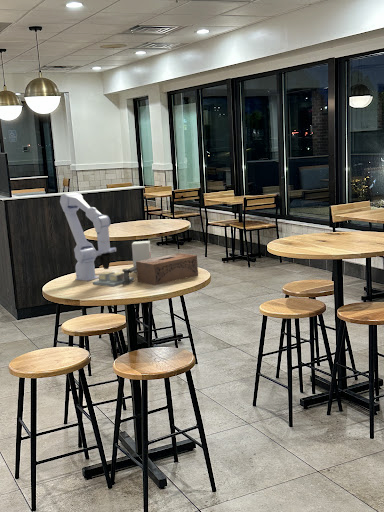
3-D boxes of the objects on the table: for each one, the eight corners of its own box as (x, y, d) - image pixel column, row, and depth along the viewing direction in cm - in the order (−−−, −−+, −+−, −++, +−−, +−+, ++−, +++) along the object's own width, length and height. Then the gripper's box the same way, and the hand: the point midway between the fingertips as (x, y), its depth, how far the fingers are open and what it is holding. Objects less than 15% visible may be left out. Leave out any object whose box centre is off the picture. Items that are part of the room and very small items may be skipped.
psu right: (109, 281, 304) (108, 274, 304) (118, 278, 309) (117, 272, 309) (117, 281, 301) (116, 275, 301) (125, 279, 306) (125, 272, 306)
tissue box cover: (180, 272, 321) (178, 253, 320) (198, 275, 310) (196, 255, 308) (137, 282, 305) (135, 261, 304) (155, 285, 294) (153, 264, 293)
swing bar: (137, 266, 317) (137, 263, 316) (144, 266, 315) (144, 263, 315) (121, 274, 300) (120, 270, 300) (128, 274, 299) (127, 270, 299)
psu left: (98, 280, 309) (98, 273, 308) (107, 277, 313) (107, 271, 313) (106, 281, 306) (105, 274, 305) (115, 278, 311) (114, 271, 310)
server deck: (92, 284, 306) (91, 272, 305) (112, 278, 317) (111, 267, 316) (120, 287, 295) (119, 275, 294) (140, 280, 306) (139, 269, 305)
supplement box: (151, 271, 328) (148, 242, 325) (133, 272, 328) (131, 244, 326) (152, 268, 337) (150, 240, 334) (135, 269, 337) (133, 241, 335)
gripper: (98, 243, 298) (101, 272, 301) (119, 238, 310) (122, 266, 312) (88, 243, 303) (91, 271, 305) (109, 238, 314) (111, 265, 316)
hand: (106, 268), depth 309 cm, fingers closed
